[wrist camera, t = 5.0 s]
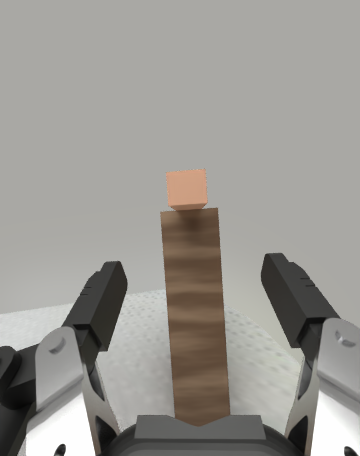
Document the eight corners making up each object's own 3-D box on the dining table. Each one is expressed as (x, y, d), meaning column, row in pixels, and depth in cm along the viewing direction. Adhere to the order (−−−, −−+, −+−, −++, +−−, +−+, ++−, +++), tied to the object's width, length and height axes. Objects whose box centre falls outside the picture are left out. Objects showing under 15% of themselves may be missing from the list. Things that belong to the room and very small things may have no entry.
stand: (230, 428, 26) (217, 207, 25) (176, 428, 27) (160, 211, 25) (215, 349, 42) (207, 212, 41) (181, 350, 43) (171, 214, 41)
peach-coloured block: (207, 202, 16) (205, 168, 16) (168, 205, 16) (166, 172, 16) (197, 212, 40) (196, 199, 40) (181, 214, 40) (180, 200, 40)
